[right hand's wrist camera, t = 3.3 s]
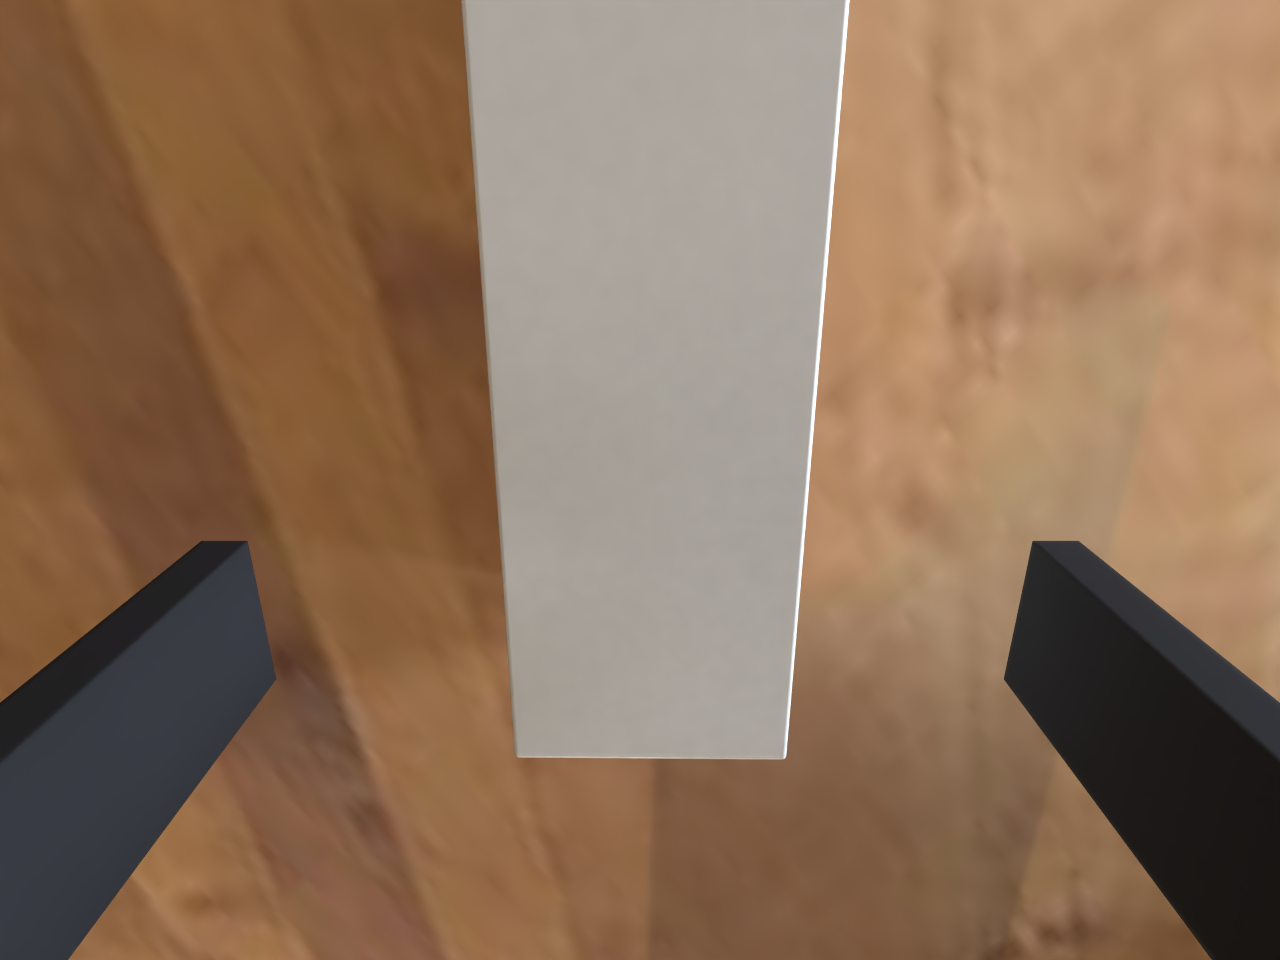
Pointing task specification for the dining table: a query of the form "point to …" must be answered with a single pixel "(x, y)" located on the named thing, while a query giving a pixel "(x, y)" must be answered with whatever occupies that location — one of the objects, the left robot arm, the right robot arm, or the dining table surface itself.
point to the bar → (653, 356)
